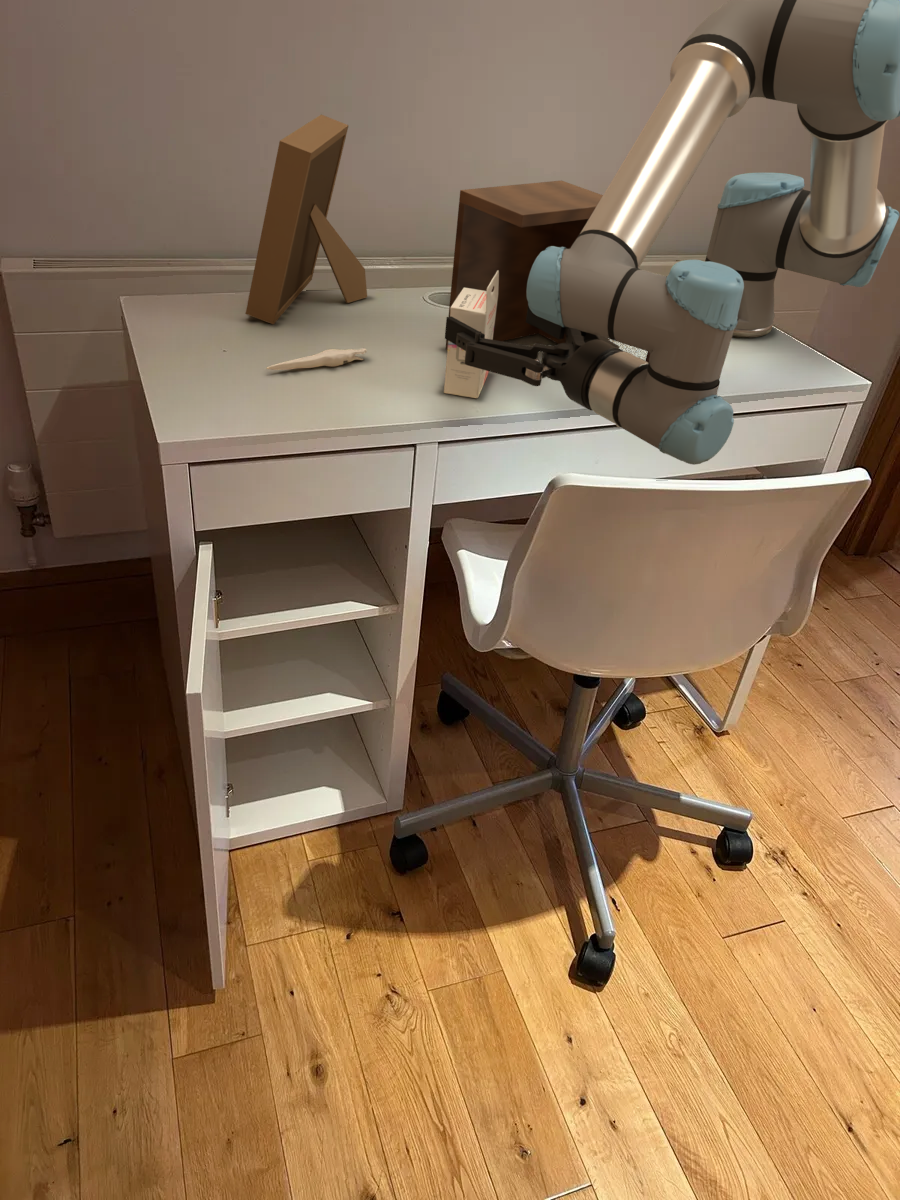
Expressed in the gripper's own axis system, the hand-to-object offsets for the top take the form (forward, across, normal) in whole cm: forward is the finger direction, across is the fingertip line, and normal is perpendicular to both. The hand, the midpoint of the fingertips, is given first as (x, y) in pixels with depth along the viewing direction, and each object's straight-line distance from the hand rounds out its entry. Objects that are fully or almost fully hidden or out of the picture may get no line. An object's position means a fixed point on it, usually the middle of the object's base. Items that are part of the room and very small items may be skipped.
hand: (489, 319), depth 118 cm
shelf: (+8, +14, -10) cm, 19 cm away
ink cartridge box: (+3, 0, -10) cm, 11 cm away
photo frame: (+38, -3, -10) cm, 40 cm away
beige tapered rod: (+17, -15, -10) cm, 25 cm away
